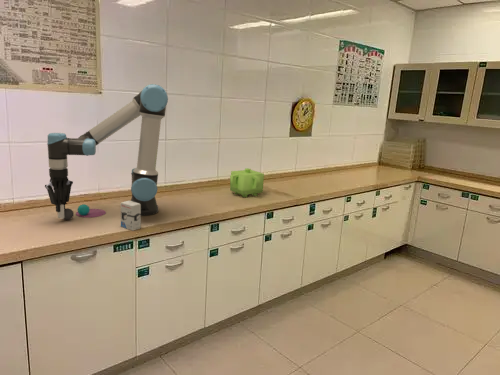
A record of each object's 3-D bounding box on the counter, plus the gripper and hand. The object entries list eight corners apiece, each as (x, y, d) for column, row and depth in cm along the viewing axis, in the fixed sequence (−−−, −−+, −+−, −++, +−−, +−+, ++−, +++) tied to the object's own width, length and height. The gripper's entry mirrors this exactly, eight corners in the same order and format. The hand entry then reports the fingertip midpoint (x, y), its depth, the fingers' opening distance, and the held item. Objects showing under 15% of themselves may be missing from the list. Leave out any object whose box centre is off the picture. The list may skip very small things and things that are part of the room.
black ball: (64, 219, 174) (73, 222, 179) (69, 207, 176) (77, 211, 180) (56, 217, 176) (65, 220, 181) (60, 206, 178) (69, 209, 183)
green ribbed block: (250, 188, 264) (252, 164, 260) (271, 196, 247) (273, 170, 243) (220, 192, 249) (221, 166, 245) (240, 200, 232) (242, 173, 228)
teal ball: (84, 218, 184) (93, 213, 188) (81, 208, 182) (90, 203, 186) (76, 216, 186) (85, 211, 191) (73, 206, 184) (82, 201, 188)
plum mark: (111, 212, 194) (111, 212, 194) (89, 219, 182) (89, 218, 182) (92, 207, 200) (92, 207, 200) (69, 213, 188) (69, 213, 187)
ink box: (120, 226, 175) (119, 202, 172) (128, 224, 179) (128, 200, 176) (132, 231, 170) (132, 205, 168) (141, 228, 174) (141, 203, 172)
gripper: (65, 164, 177) (67, 213, 183) (39, 168, 166) (42, 219, 171) (76, 167, 174) (78, 216, 180) (50, 171, 163) (53, 223, 168)
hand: (61, 217), depth 175 cm, fingers closed
